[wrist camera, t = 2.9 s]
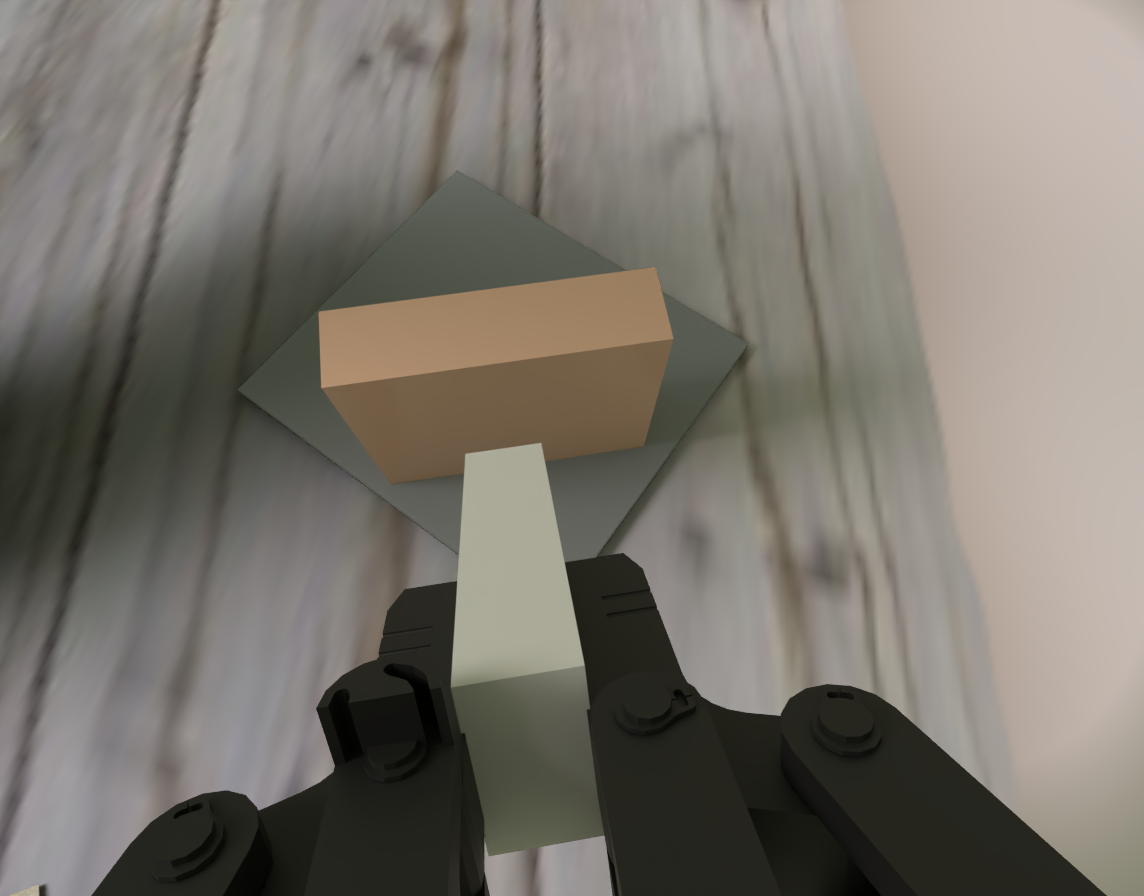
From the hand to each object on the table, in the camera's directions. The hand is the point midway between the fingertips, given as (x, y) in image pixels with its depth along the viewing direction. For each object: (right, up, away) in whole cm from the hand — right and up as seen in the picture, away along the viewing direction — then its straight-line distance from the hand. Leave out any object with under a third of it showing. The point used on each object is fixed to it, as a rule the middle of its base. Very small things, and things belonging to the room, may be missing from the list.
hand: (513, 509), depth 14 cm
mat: (-3, +5, +21) cm, 22 cm away
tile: (-2, +2, +19) cm, 20 cm away
